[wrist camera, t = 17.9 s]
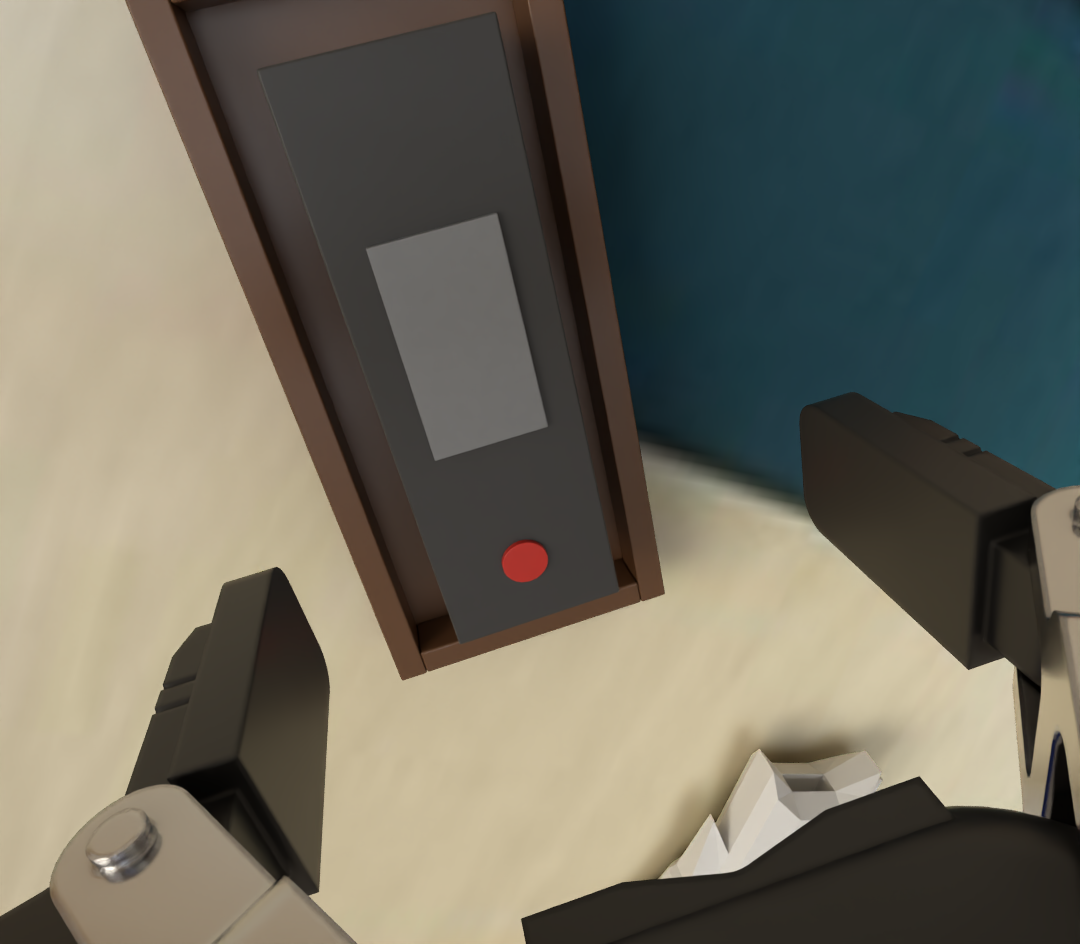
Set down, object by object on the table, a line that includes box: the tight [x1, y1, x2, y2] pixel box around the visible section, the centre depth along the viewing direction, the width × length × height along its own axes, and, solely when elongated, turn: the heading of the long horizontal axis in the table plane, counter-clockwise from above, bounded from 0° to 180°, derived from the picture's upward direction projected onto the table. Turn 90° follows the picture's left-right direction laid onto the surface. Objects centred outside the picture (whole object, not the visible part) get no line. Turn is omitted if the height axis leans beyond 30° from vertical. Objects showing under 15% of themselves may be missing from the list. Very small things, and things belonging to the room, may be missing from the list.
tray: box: [125, 0, 665, 680], centre depth 20 cm, size 9×19×2 cm, turn 13°
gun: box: [658, 749, 882, 879], centre depth 32 cm, size 18×4×10 cm
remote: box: [257, 12, 619, 644], centre depth 19 cm, size 14×5×4 cm, turn 13°
